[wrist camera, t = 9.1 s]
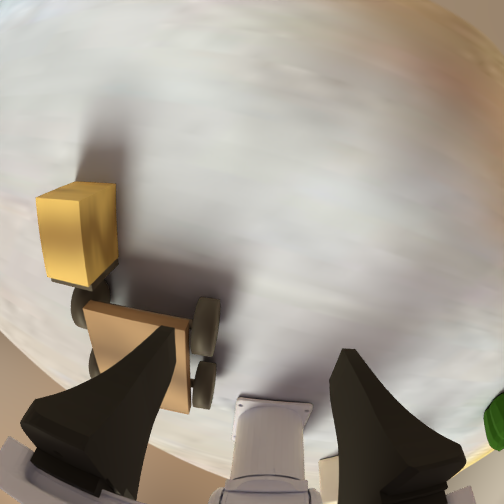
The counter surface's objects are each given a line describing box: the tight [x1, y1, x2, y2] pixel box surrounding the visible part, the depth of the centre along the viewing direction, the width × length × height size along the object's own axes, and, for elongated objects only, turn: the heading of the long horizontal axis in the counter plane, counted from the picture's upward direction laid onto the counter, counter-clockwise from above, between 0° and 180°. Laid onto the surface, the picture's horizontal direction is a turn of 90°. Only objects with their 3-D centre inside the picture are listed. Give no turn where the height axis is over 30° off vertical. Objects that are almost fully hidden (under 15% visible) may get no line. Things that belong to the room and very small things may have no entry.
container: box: [318, 456, 339, 504], centre depth 28 cm, size 8×8×13 cm
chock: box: [36, 181, 119, 291], centre depth 19 cm, size 7×4×5 cm, turn 173°
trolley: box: [71, 280, 220, 414], centre depth 23 cm, size 11×11×5 cm
